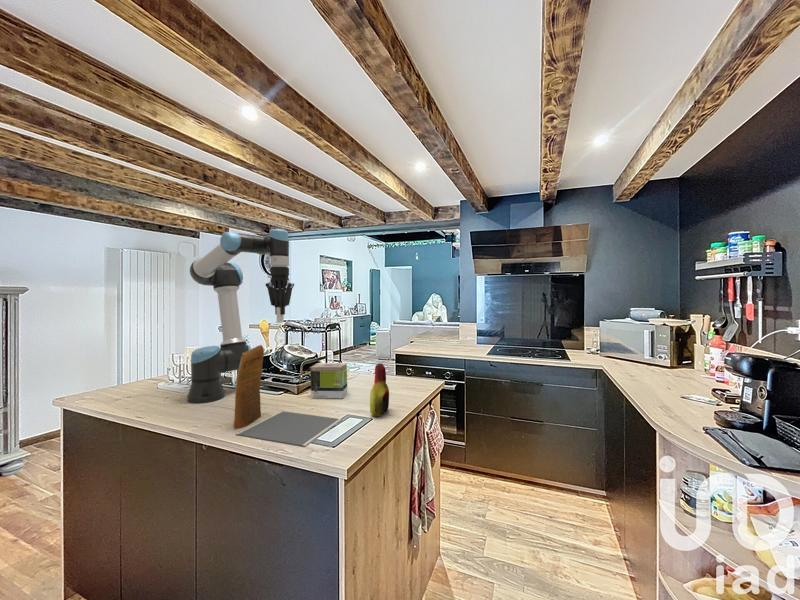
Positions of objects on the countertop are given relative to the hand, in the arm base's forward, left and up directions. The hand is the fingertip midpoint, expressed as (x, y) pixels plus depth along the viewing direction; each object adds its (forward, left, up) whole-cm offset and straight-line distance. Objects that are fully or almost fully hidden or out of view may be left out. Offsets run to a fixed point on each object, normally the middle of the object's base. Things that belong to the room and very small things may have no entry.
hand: (280, 322), depth 148 cm
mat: (+18, -17, -36) cm, 44 cm away
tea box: (+11, +21, -37) cm, 44 cm away
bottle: (+43, +7, -36) cm, 57 cm away
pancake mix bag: (-1, -17, -36) cm, 40 cm away
